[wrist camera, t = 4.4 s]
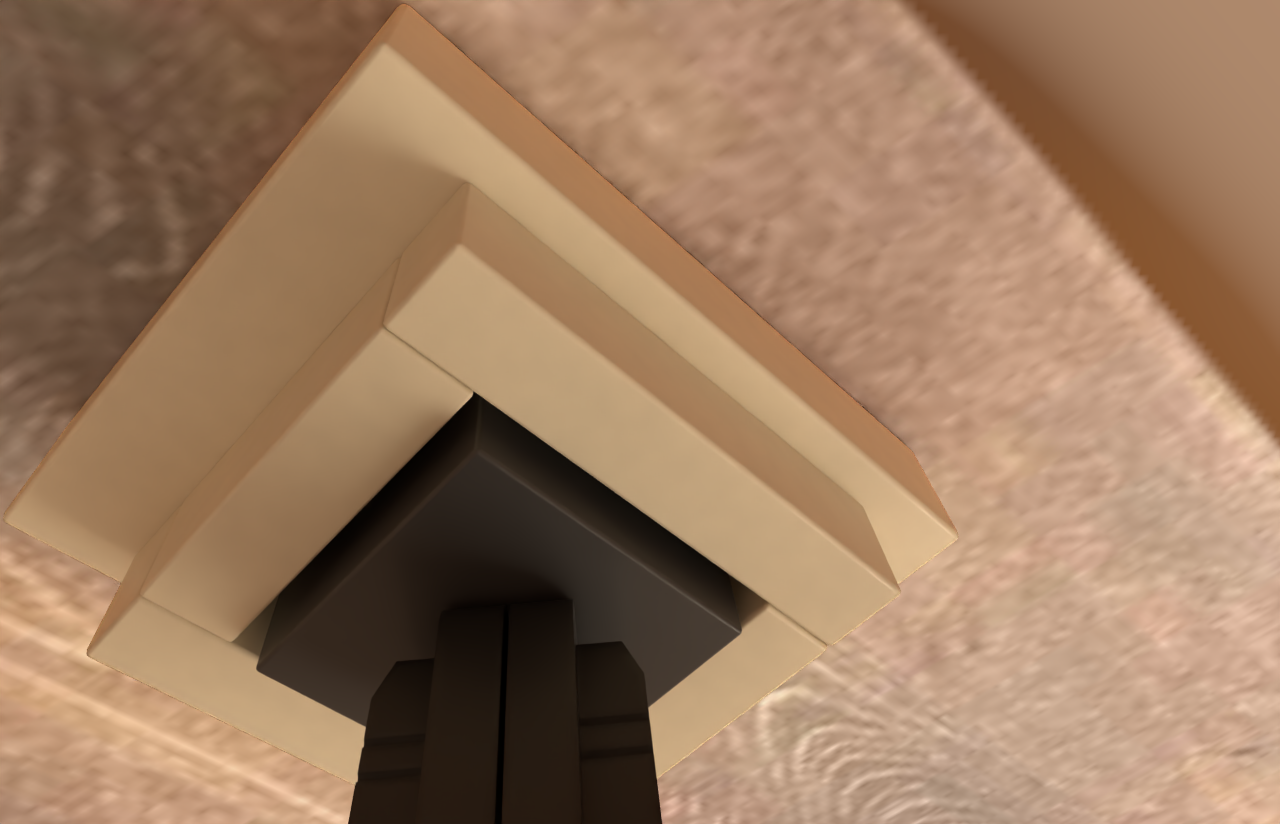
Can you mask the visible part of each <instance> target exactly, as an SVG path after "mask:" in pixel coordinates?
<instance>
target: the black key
mask: <svg viewBox="0 0 1280 824" xmlns="http://www.w3.org/2000/svg"><path fill="white" fill-rule="evenodd" d="M565 599H573V602H574V611H575V622H576V632H577V642H578V645H581V644H592V643H603V642H614V641H622V642H623V643H624V645H625V646H626V648H627V649H628V650H629V652H630V653H631V655H632V656H633V658H634V659H635V661H636V662H637V663H638V665H639V666H640V668H641V669H642V671H643V672H644V675H645V684H646V692H647V701H648V708H649V707H650V706H651V705H652V704H654V703H655V702H656V701H657V700H659V699H660V698H661V697H662V696H664V695H665V694H666V693H667V692H669V691H670V690H671V689H673V688H674V687H675V686H676V685H678V684H679V683H680V682H681V681H683V680H684V679H685V678H686V677H688V676H689V675H690V674H691V673H693V672H694V671H695V670H696V669H698V668H699V667H700V666H701V665H703V664H704V663H705V662H706V661H708V660H709V659H710V658H711V657H713V656H714V655H715V654H717V653H718V652H719V651H720V650H722V649H723V648H724V647H725V646H727V645H728V644H729V643H730V642H732V641H733V640H734V639H735V638H737V637H738V636H739V635H740V634H741V633H742V627H741V623H740V619H739V615H738V610H737V606H736V602H735V598H734V594H733V590H732V586H731V582H730V577H729V574H728V573H727V572H725V571H724V570H722V569H721V568H720V567H718V566H717V565H716V564H714V563H713V562H711V561H710V560H709V559H707V558H706V557H704V556H703V555H702V554H700V553H699V552H697V551H696V550H695V549H693V548H692V547H690V546H689V545H688V544H686V543H685V542H683V541H682V540H681V539H679V538H678V537H676V536H675V535H674V534H672V533H671V532H669V531H668V530H667V529H665V528H664V527H662V526H661V525H660V524H658V523H657V522H656V521H654V520H653V519H651V518H650V517H649V516H647V515H646V514H644V513H643V512H642V511H640V510H639V509H637V508H636V507H635V506H633V505H632V504H630V503H629V502H628V501H626V500H625V499H623V498H622V497H621V496H619V495H618V494H616V493H615V492H614V491H612V490H611V489H609V488H608V487H607V486H605V485H604V484H602V483H601V482H600V481H598V480H597V479H596V478H594V477H593V476H591V475H590V474H589V473H587V472H586V471H584V470H583V469H582V468H580V467H579V466H577V465H576V464H575V463H573V462H572V461H570V460H569V459H568V458H566V457H565V456H563V455H562V454H561V453H559V452H558V451H556V450H555V449H554V448H552V447H551V446H549V445H548V444H547V443H545V442H544V441H542V440H541V439H540V438H538V437H537V436H536V435H534V434H533V433H531V432H530V431H529V430H527V429H526V428H524V427H523V426H522V425H520V424H519V423H517V422H516V421H515V420H513V419H512V418H510V417H509V416H508V415H506V414H505V413H503V412H502V411H501V410H499V409H498V408H496V407H495V406H494V405H492V404H491V403H489V402H488V401H487V400H485V399H484V398H482V397H481V396H480V395H478V394H477V393H476V392H474V391H473V395H472V397H471V398H470V399H469V400H468V401H467V402H466V403H465V404H464V405H463V406H462V407H461V408H460V409H459V410H458V411H457V412H456V413H455V414H454V415H453V416H452V418H451V419H450V420H449V421H448V422H447V423H446V424H445V425H444V426H443V427H442V428H441V429H440V430H439V431H438V432H437V433H436V434H435V435H434V436H433V437H432V438H431V439H430V440H429V441H428V442H427V443H426V444H425V445H424V446H423V447H422V448H421V449H420V450H419V451H418V452H417V453H416V454H415V455H414V456H413V457H412V458H411V459H410V461H409V462H408V463H407V464H406V465H405V466H404V467H403V468H402V469H401V470H400V471H399V472H398V473H397V474H396V475H395V476H394V477H393V478H392V479H391V480H390V481H389V482H388V483H387V484H386V485H385V486H384V487H383V488H382V489H381V490H380V491H379V492H378V493H377V494H376V495H375V496H374V497H373V498H372V499H371V500H370V501H369V502H368V503H367V505H366V506H365V507H364V508H363V509H362V510H361V511H360V512H359V513H358V514H357V515H356V516H355V517H354V518H353V519H352V520H351V521H350V522H349V523H348V524H347V525H346V526H345V527H344V528H343V529H342V530H341V531H340V532H339V533H338V534H337V535H336V536H335V537H334V538H333V539H332V540H331V541H330V542H329V543H328V544H327V545H326V546H325V548H324V549H323V550H322V551H321V552H320V553H319V554H318V555H317V556H316V557H315V558H314V559H313V560H312V561H311V562H310V563H309V564H308V565H307V566H306V567H305V568H304V569H303V570H302V571H301V572H300V573H299V574H298V575H297V576H296V577H295V578H294V579H293V580H292V581H291V582H290V583H289V584H288V585H287V586H286V587H285V588H284V589H283V590H282V592H281V593H280V594H279V596H278V599H277V602H276V605H275V609H274V612H273V615H272V618H271V621H270V624H269V628H268V631H267V634H266V637H265V640H264V644H263V647H262V650H261V653H260V656H259V659H258V663H257V666H256V670H257V671H258V672H259V673H261V674H263V675H265V676H267V677H269V678H271V679H273V680H275V681H277V682H279V683H281V684H283V685H285V686H287V687H289V688H290V689H292V690H294V691H296V692H298V693H300V694H302V695H304V696H306V697H308V698H310V699H312V700H314V701H316V702H318V703H320V704H322V705H324V706H325V707H327V708H329V709H331V710H333V711H335V712H337V713H339V714H341V715H343V716H345V717H347V718H349V719H351V720H353V721H355V722H357V723H358V724H360V725H362V726H364V727H366V724H367V718H368V713H369V707H370V702H371V698H372V696H373V695H374V694H375V692H376V691H377V689H378V688H379V686H380V685H381V683H382V682H383V680H384V679H385V677H386V676H387V674H388V673H389V672H390V670H391V669H392V667H393V666H394V664H395V663H396V661H406V660H417V659H428V658H435V651H436V642H437V634H438V626H439V618H440V614H441V612H442V611H443V610H454V609H466V608H477V607H489V606H500V605H506V607H507V610H508V616H509V609H510V605H511V604H519V603H531V602H542V601H554V600H565Z"/></svg>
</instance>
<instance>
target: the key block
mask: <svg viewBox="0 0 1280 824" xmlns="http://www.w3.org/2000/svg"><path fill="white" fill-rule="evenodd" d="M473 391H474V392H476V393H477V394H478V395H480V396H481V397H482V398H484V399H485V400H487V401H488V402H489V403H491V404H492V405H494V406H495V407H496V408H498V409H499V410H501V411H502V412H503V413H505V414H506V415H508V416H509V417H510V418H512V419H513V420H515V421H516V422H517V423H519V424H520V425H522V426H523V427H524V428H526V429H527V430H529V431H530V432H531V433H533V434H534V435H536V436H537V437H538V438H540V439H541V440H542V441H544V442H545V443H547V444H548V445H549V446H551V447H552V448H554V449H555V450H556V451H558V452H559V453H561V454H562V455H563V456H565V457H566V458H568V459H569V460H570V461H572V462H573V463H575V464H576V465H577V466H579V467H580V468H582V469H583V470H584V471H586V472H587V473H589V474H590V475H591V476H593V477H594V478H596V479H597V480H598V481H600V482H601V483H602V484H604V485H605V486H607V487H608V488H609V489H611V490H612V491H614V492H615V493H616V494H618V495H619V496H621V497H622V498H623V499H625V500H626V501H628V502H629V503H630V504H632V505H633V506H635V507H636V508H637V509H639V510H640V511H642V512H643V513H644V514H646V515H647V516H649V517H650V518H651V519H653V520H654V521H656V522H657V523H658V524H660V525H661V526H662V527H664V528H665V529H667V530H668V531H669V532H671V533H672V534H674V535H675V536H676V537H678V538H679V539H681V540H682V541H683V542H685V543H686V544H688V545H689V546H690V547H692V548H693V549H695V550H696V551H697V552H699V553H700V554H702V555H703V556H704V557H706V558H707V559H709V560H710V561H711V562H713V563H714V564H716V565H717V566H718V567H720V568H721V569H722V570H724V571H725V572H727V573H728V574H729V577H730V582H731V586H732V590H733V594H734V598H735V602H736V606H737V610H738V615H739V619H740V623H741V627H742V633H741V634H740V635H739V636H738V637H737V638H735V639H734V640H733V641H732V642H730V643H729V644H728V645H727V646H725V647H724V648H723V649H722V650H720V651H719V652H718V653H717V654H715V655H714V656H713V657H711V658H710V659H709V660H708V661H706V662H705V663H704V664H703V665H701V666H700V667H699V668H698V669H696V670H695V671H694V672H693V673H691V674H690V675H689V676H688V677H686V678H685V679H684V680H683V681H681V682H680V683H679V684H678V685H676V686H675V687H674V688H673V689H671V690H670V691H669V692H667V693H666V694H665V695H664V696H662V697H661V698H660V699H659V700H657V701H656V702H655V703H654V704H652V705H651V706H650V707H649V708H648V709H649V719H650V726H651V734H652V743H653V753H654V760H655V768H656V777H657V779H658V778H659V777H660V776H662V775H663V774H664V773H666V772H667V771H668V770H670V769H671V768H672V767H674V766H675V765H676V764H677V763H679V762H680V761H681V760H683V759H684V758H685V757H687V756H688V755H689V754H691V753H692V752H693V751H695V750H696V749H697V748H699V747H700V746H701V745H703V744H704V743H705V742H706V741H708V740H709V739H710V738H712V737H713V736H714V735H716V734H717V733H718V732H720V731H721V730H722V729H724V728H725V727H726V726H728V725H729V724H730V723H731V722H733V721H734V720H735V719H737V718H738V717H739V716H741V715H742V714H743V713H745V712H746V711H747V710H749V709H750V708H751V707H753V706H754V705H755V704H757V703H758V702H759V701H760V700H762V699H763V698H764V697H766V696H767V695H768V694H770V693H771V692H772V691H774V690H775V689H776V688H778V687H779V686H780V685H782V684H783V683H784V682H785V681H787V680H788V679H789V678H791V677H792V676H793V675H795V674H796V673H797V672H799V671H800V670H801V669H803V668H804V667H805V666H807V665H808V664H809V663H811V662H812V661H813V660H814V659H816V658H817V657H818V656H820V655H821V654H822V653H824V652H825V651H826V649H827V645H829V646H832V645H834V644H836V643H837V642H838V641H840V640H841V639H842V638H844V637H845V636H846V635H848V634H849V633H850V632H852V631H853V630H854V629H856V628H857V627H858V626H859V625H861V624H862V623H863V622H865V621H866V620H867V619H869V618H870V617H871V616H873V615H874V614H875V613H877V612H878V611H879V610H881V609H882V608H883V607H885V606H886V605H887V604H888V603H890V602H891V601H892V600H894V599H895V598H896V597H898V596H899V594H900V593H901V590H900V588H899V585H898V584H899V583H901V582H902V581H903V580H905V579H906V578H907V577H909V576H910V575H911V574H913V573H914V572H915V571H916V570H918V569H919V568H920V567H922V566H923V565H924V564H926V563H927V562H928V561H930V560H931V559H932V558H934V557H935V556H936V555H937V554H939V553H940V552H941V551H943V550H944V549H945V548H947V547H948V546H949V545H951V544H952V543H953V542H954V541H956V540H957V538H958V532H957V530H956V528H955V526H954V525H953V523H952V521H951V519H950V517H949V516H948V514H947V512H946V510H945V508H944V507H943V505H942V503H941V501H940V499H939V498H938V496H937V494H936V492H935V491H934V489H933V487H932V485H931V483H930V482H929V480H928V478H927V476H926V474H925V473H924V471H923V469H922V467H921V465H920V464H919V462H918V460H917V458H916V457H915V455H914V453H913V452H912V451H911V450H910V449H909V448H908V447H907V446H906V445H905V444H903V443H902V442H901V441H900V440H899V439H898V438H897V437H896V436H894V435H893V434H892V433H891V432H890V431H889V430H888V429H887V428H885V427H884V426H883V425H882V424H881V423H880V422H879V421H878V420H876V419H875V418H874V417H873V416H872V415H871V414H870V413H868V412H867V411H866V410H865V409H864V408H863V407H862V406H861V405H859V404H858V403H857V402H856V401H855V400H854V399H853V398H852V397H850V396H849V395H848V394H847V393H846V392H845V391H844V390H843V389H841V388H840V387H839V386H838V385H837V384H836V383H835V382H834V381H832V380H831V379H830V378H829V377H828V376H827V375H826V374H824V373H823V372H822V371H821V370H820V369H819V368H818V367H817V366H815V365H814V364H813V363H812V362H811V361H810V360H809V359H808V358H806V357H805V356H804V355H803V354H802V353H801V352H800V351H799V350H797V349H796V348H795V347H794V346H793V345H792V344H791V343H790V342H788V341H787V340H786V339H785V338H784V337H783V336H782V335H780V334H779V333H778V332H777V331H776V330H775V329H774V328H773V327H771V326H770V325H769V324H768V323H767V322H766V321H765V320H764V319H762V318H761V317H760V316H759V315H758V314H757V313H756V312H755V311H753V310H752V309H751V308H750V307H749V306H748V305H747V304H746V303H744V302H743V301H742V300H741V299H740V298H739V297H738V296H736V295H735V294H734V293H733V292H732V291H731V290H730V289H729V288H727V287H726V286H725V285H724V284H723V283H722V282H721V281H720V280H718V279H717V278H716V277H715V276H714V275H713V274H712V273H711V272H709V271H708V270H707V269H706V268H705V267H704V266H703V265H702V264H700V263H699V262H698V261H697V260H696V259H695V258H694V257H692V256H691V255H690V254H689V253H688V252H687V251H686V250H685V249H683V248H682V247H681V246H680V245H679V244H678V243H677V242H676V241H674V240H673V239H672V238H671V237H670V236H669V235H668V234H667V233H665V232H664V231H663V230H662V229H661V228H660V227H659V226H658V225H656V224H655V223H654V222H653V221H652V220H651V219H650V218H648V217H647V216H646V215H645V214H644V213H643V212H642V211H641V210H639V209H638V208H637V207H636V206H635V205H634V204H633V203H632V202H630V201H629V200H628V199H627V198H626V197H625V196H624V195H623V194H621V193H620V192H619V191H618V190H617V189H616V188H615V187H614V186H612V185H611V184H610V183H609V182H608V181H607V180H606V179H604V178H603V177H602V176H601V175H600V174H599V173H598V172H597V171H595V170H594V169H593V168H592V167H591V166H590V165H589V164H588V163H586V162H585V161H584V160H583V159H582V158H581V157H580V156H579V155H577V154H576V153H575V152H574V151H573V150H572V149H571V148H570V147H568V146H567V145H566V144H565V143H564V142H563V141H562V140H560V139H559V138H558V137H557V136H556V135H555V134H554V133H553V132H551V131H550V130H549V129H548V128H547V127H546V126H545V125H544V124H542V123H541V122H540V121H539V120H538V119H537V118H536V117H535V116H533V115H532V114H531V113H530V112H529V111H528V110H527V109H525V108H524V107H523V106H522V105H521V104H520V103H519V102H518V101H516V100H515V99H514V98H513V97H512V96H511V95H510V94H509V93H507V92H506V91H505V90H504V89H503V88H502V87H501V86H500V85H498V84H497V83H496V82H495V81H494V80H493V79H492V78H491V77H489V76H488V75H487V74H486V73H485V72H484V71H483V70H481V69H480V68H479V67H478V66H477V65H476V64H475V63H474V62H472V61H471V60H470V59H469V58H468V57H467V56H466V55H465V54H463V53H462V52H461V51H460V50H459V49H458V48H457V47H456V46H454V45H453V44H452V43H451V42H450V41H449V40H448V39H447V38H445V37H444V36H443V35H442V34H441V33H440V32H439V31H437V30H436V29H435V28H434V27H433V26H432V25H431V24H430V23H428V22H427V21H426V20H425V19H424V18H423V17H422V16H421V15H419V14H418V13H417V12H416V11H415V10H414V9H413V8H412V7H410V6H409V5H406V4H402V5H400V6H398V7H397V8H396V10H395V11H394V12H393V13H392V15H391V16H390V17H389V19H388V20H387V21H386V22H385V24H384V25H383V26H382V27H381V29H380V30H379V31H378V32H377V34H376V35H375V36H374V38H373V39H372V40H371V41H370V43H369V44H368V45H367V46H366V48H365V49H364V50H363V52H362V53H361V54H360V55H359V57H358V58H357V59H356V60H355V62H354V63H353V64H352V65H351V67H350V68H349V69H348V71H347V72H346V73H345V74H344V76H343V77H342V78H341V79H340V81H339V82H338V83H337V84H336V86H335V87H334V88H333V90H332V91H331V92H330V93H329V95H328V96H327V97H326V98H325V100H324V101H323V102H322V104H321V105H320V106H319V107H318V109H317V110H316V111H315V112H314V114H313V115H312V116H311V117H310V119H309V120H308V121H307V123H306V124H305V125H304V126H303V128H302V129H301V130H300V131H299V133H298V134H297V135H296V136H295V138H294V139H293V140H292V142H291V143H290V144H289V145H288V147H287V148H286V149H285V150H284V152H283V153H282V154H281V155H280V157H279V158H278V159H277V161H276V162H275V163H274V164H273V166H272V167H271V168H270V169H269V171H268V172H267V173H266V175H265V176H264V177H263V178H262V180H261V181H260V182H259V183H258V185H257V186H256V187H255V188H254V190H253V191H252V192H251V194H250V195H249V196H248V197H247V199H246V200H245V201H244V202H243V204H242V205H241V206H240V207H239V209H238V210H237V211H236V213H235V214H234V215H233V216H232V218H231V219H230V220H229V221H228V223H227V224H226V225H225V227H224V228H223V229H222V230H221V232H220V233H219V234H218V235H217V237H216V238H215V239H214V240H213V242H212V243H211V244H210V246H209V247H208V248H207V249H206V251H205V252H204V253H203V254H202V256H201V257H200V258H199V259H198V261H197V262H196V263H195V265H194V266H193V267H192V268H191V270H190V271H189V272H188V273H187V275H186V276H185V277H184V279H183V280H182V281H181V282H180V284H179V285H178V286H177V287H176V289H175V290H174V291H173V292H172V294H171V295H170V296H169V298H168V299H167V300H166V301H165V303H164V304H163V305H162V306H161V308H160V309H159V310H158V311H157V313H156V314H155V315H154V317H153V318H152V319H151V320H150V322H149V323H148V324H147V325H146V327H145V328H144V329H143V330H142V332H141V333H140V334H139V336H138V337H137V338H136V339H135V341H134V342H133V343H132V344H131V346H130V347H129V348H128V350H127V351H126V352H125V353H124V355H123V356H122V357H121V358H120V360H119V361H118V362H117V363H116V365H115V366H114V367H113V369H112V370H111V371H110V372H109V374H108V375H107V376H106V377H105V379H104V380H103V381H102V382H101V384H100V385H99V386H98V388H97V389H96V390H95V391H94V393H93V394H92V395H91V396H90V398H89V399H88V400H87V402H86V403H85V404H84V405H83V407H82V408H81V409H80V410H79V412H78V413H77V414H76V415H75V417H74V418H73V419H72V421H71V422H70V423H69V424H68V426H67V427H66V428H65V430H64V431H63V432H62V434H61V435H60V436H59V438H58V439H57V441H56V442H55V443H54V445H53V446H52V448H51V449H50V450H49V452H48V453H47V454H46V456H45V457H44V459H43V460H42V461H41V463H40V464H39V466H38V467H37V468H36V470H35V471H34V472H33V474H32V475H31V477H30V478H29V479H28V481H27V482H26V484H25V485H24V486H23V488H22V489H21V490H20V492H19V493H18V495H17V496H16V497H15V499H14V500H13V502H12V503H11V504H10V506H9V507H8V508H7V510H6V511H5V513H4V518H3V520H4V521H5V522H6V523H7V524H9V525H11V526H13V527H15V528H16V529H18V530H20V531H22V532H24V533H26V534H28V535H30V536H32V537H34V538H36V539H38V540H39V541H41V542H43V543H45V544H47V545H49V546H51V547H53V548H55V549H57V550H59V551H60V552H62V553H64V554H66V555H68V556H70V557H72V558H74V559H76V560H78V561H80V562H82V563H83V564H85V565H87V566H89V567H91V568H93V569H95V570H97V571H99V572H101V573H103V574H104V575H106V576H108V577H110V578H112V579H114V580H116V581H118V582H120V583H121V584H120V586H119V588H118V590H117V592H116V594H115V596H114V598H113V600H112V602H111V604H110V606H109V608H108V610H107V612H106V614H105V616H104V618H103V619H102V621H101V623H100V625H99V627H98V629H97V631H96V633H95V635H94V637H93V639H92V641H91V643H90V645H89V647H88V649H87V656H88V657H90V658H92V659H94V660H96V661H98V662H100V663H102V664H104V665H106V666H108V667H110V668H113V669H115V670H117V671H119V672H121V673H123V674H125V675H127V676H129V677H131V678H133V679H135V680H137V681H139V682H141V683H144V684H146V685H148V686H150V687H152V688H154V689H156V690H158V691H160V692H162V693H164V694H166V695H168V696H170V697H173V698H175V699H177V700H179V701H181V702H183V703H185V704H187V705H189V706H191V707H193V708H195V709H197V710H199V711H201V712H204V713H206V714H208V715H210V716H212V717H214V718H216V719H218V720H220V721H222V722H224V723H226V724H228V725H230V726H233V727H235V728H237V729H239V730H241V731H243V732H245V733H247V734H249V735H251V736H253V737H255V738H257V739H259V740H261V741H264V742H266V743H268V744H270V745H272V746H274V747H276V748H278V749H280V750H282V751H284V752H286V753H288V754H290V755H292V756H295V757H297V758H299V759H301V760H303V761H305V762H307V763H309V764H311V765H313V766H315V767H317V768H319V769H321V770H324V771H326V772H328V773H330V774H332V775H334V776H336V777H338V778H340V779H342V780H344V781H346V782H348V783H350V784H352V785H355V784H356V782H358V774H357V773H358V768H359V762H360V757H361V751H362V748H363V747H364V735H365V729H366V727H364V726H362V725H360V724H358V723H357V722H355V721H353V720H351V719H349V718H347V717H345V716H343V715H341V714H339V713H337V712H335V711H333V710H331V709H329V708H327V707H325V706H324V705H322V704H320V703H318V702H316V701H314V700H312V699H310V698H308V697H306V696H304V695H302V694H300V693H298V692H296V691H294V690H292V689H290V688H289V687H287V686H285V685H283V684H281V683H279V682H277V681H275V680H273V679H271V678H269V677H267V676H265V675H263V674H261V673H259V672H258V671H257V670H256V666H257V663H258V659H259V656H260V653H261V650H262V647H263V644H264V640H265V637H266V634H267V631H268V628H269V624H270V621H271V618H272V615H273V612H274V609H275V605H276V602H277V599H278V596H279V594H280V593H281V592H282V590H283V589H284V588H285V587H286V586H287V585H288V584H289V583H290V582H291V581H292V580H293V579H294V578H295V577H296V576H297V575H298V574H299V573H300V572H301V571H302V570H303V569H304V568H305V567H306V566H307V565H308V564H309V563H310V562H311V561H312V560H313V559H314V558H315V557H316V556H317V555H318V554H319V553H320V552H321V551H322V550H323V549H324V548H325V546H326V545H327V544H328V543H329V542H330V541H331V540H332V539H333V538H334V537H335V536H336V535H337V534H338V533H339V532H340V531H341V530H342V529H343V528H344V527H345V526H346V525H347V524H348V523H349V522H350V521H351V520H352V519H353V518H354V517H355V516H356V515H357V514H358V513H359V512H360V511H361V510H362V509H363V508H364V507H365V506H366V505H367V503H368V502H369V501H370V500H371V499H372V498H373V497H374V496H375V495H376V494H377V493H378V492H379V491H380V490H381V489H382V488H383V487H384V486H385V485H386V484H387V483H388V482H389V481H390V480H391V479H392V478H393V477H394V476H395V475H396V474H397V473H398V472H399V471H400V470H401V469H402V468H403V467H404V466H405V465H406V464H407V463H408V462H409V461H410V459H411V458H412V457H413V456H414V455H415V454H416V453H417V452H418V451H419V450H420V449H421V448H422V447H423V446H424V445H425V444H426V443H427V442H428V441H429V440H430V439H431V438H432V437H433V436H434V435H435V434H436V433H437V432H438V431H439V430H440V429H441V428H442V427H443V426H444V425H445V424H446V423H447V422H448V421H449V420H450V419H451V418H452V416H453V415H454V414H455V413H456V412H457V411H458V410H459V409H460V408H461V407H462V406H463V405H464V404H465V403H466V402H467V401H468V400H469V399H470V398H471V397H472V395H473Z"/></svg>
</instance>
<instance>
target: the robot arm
mask: <svg viewBox="0 0 1280 824" xmlns="http://www.w3.org/2000/svg"><path fill="white" fill-rule="evenodd" d="M357 774H358V782H356V784H355V789H354V795H353V800H352V806H351V811H350V817H349V822H348V824H662V819H661V810H660V802H659V794H658V785H657V777H656V768H655V760H654V753H653V743H652V734H651V726H650V719H649V709H648V701H647V692H646V684H645V675H644V672H643V671H642V669H641V668H640V666H639V665H638V663H637V662H636V661H635V659H634V658H633V656H632V655H631V653H630V652H629V650H628V649H627V648H626V646H625V645H624V643H623V642H622V641H614V642H603V643H592V644H581V645H578V642H577V632H576V622H575V611H574V602H573V599H565V600H554V601H542V602H531V603H519V604H511V605H510V609H509V616H508V610H507V607H506V605H500V606H489V607H477V608H466V609H454V610H443V611H442V612H441V614H440V618H439V626H438V634H437V642H436V651H435V658H428V659H417V660H406V661H396V663H395V664H394V666H393V667H392V669H391V670H390V672H389V673H388V674H387V676H386V677H385V679H384V680H383V682H382V683H381V685H380V686H379V688H378V689H377V691H376V692H375V694H374V695H373V696H372V698H371V702H370V707H369V713H368V718H367V724H366V729H365V735H364V747H363V748H362V751H361V757H360V762H359V768H358V773H357Z"/></svg>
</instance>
